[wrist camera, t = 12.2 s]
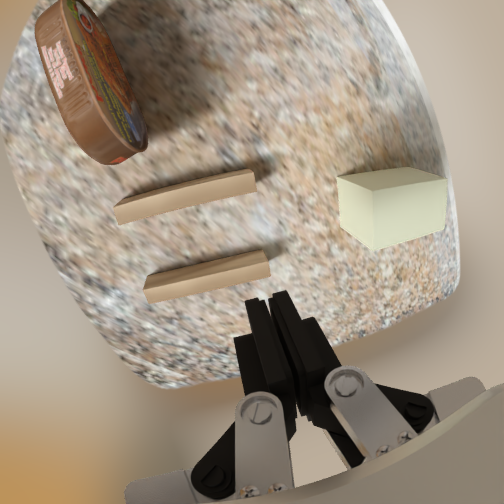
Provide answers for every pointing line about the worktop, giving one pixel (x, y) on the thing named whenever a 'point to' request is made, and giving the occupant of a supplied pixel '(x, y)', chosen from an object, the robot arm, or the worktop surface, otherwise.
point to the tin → (89, 83)
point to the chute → (204, 273)
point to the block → (391, 205)
